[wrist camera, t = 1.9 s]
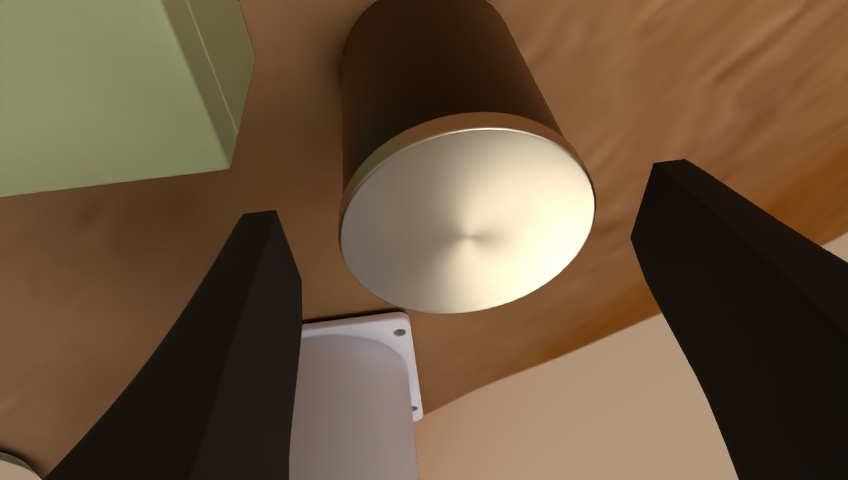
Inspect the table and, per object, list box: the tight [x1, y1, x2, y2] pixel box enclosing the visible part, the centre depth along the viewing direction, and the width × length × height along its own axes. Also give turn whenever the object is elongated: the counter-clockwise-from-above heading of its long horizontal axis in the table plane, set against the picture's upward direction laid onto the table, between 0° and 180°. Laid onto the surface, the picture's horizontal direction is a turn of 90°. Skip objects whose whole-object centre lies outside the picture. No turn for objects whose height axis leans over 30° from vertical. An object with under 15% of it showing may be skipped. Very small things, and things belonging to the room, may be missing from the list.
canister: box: [338, 0, 596, 314], centre depth 13 cm, size 5×5×6 cm
